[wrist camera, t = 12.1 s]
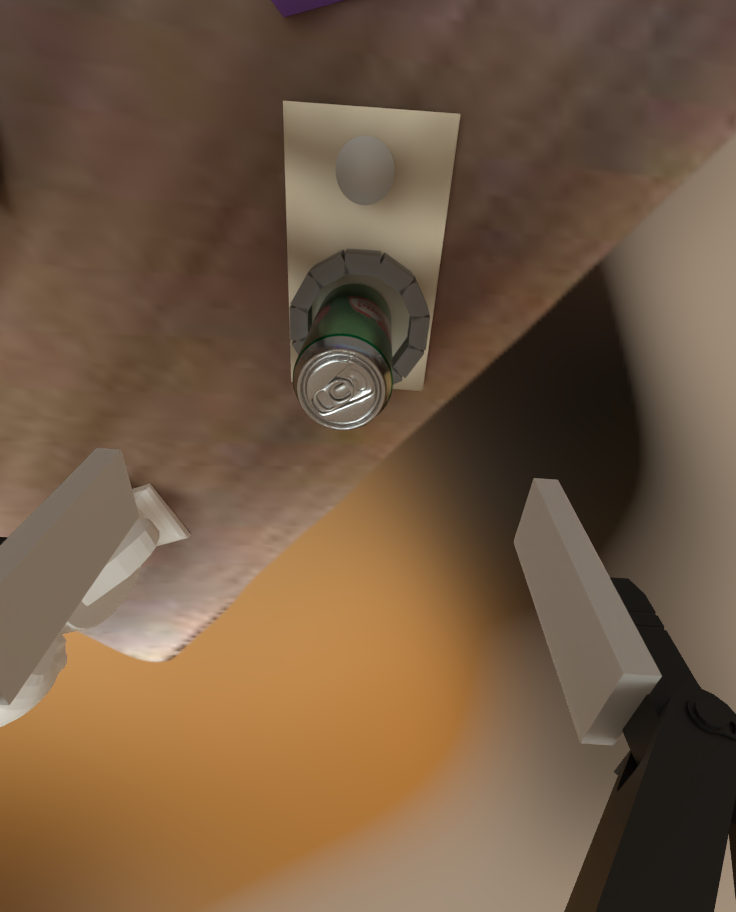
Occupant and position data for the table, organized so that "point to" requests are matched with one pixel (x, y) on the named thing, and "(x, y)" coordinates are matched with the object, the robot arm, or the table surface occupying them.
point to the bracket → (299, 5)
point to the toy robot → (103, 593)
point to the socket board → (368, 216)
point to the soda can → (346, 359)
